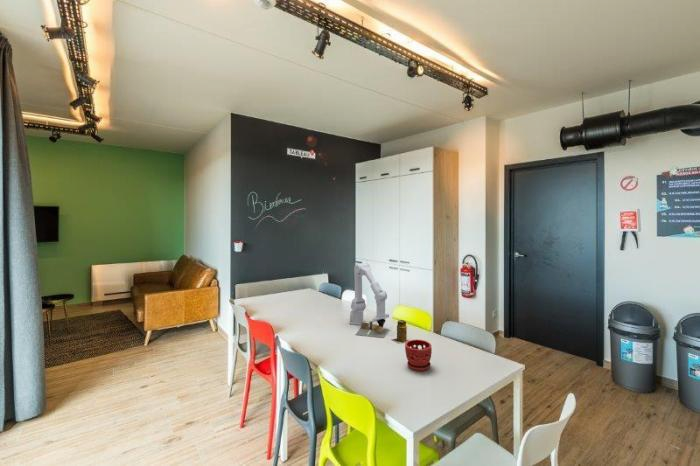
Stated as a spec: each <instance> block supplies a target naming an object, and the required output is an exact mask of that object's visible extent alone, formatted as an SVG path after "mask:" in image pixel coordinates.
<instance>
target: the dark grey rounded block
mask: <svg viewBox="0 0 700 466" xmlns="http://www.w3.org/2000/svg"><path fill="white" fill-rule="evenodd" d="M372 324H373V321H372V320H370V321H369V322H365V323H364V322H361V325H360V328H361V329H369V327H370V330H372Z"/></svg>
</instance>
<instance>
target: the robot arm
mask: <svg viewBox="0 0 700 466" xmlns="http://www.w3.org/2000/svg"><path fill="white" fill-rule="evenodd" d="M353 270H354V271H353V272H354V273H353V275H354V298H353V299H352V300H351V303H350V308H351V311H350V312H349V313H350V314H349V325H357V326H361V322H364V323H366V321H365V320H364V311H365V310H366V308H367V305H366V299H364V298H363V276H364V277H366V279H367V281H368V283H370V289H371V290H372V292H373V294H374V299H375V304H376V315H375V316H374V317H372V318H371V319H372V320H371V322H372V323H373V322H374V323H375V322H376V323H377V325H378V326H381V327H383V328H384V325H385V323H386V319H387V318H390V314H389V313H386V300H387V299H388V294H387V292H386V291H385V290H383V289H382V287H381V285H380V284H379V282H378V281H376V280H375V278H374V276H373V274H372V268H371V265H370V264H369V263H360V264H359V263H358V264H355V265H354V267H353Z"/></svg>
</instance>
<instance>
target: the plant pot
mask: <svg viewBox="0 0 700 466" xmlns="http://www.w3.org/2000/svg"><path fill="white" fill-rule="evenodd" d="M404 343H405V344H404V349H405V350H404V351H405V356H406V360H407V366H408V367H409V368H410V369H411V370H413V371H418V372H419V371H421V372H423V371H427V370H428V369H430V367H431V365H432V364H431V362H430V361H431V358H432V353H433V352H432V351H433V350H432V344H431V343H430V342H429V341H426V340H424V339H411V340H410V339H409V341H407V342H404ZM419 346H421V348H419Z"/></svg>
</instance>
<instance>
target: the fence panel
mask: <svg viewBox="0 0 700 466" xmlns="http://www.w3.org/2000/svg"><path fill="white" fill-rule="evenodd" d="M383 328H384V326H383V327H381V326H379V325H378V324H375V323H372V330H374V331H377V332H379V333H383Z"/></svg>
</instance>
